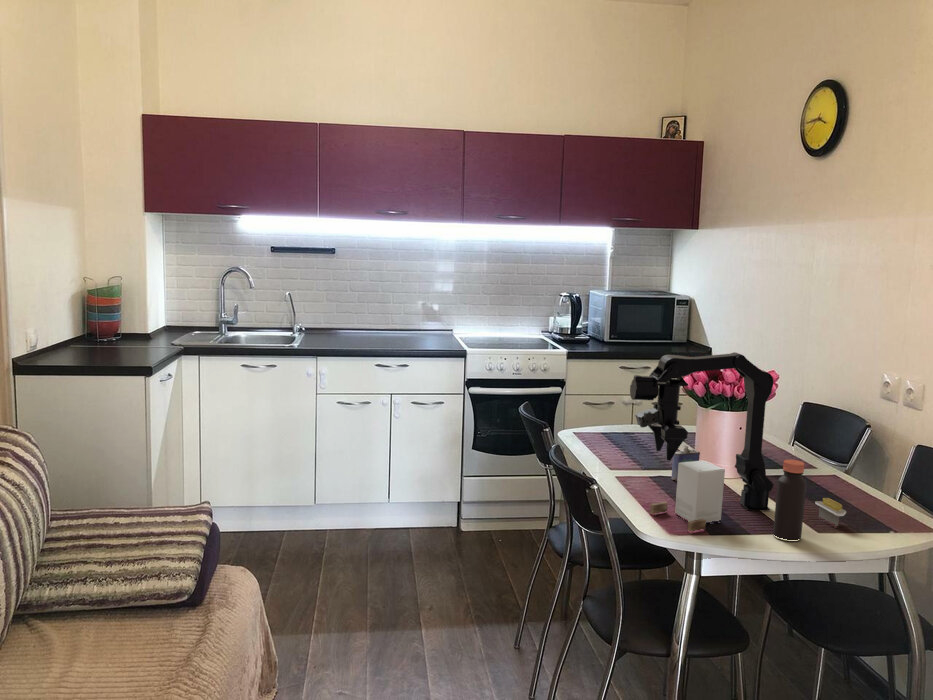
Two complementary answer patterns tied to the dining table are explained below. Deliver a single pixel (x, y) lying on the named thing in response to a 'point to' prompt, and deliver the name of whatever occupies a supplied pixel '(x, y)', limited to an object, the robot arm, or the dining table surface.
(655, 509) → the walnut slot
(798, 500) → the bottle
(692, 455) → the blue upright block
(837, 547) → the dining table surface
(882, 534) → the dining table surface
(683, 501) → the supplement box
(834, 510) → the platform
